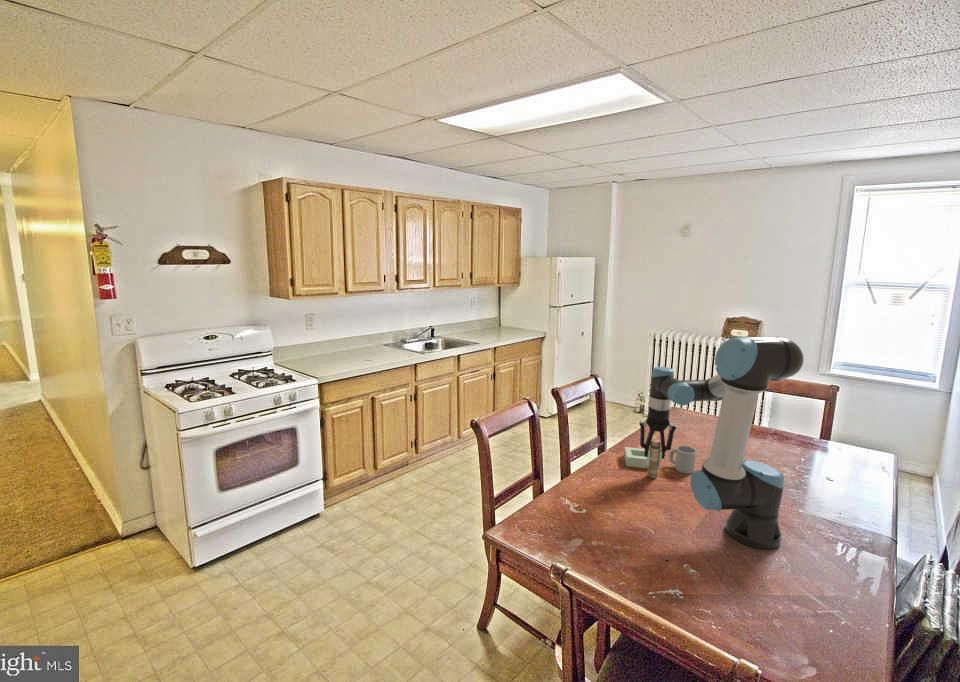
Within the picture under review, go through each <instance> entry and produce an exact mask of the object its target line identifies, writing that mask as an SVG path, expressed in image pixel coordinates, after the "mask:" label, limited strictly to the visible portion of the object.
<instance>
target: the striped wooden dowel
mask: <svg viewBox="0 0 960 682" xmlns="http://www.w3.org/2000/svg"><path fill="white" fill-rule="evenodd" d="M649 448H650V450H651V452H650V462H649V466H648V468H647V473H646V474H647V477H648V478H650V479H657V478H658V471H659V467H658V463H659V454H660V449H661V441H658V440H651V443H650V446H649Z"/></svg>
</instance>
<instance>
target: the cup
mask: <svg viewBox="0 0 960 682" xmlns="http://www.w3.org/2000/svg"><path fill="white" fill-rule="evenodd" d="M674 454H675V459H674ZM696 457H697V449H695V448H693V447H691V446H689V445H688V446H687V445H678V446H676V448H671V450H669V452H668V458H669V461H670V463H671V464H672V465H674V469H675V470H676V471H677V472H678V473H681V474H685V475H686V474H687V475H692V473H693V472H695V465H696Z"/></svg>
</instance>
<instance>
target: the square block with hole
mask: <svg viewBox="0 0 960 682" xmlns="http://www.w3.org/2000/svg"><path fill="white" fill-rule="evenodd" d="M644 450H645V448H641V447H640V448H639V447H638V448H637V447H631V446H630V447H627V446H624V452H623V457H624V461H625V462H624V463H625V466H626V467H631V468H641V469H648V466H647V464H646V459H647V457H645V455H644Z"/></svg>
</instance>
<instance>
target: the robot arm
mask: <svg viewBox="0 0 960 682" xmlns="http://www.w3.org/2000/svg"><path fill="white" fill-rule="evenodd" d="M803 364H804V354H803V350H802V349H801V348H800V346H799V345H798V344H797V343H795V341H793V340H791V339H788V338H786V337H781V336H765V337H764V336H763V337H762V336H760V337H758V336H757V337H756V336H754V337H753V336H739V337H731V338H729V339H727V340H726V341H723V343H721V344H720V346H719V347H718V349H717V350H716V353H715V356H714V365H715V371H716V372H717V374H716V375H714V376H712V377H710V378H708V379H693V380H692V379H691V380H690V379H687V380H686V379H683V380H680V379H677V378H676V377H675V372H674V370H673V368H670V367H666V366H656V367H653V368H652V374H651V380H650V391H649V403H648V412H647V418H646V419H645V420H643V421H642V420H640V421H639V422H638V424H639V427H640V433H639V434H640V435H639V436H640V438H639V439H640V440H639V445H640V448H641V449H645V450H644V455H645V457H647V459H646V464H647V466H649V462H650V452H651V450H650V443H651V441H653V440H652V439H653V436H654V434H655V432H658V433H659V438H660V439H659V440H660V443H661V444H660V445H661V446H660V454H659V463H658V468H661V466H662V460H663V459H665V456H666V452H667V451H671V450H672V443H673V439H674V434H675V431H676V430H677V426H676V425H675V424H674V423H671V422H670V413H671V412H670V411H671V410H670V409H671V402H673V403H675V404H677V405H680V406H687V405H689V404H691V403H692V402H719V401H721V404H720V407H719V412H718V417H717V418H718V419H717V423H716V427H715V432H714V435H713V440H712V446H711V451H710V456H709V457H707V458H705V459H703V460H702V461H703V462H702V466H701V469H700V470H699V469H697V470H694V472H693V473H691V474H690V475H691V476H690V488H691V491H692V494H693V497H694V499H695V500H696V501H697V504H699V506H700V507H702V508H703V509H705V510H707V511H717V512H719V511H724V510H725V511H726V510H731V512H730V514H729V516H728V517H727V519H726V523H725V530H726V532H727V534H728V535H729V536H730V537H732V538H733V539H734V540H736V541H737V542H739V543H741V544H743V545H746V546H747V547H751V548H754V549H758V550H759V549H761V550H773V549H777V548H779V546H781V542H782V541H781V540H782V533H781V528H780V523H779V519H778V518H779V512H780V506H781V503H782V498H783V491H784V489H785V488H784V484H785V483H784V481H785V479H784V478H785V477H784V475H783V474H782V472H781V471H779V470H778V469H777V468H774V467H773V466H770V465H769V464H766V463H763V462H760V461H756V460H744V458H745V457H744V456H745V452H746V451H747V444H748V441H749V436H750V432H751V428H752V424H753V419H754V416H755V415H754V414H755V411H756V407H757V404H758V403H757V402H758V400H759V399H758V398H759V395H760V394H761V393H764V392H765V391H766V390H767V389H768V384H769V381H771V382H779V381H782V380H784V379H788V378H791V377H793V376H795V375H796V374H797V373H799V371H800V370H801V369H802V367H803ZM646 425H647V426H648V427H649V430H648V433H647V434H648V435H647V437H646V439H645V428H646V427H647V426H646ZM667 428H668V434H667V435H668V436H667V439H665V430H666V429H667Z"/></svg>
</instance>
